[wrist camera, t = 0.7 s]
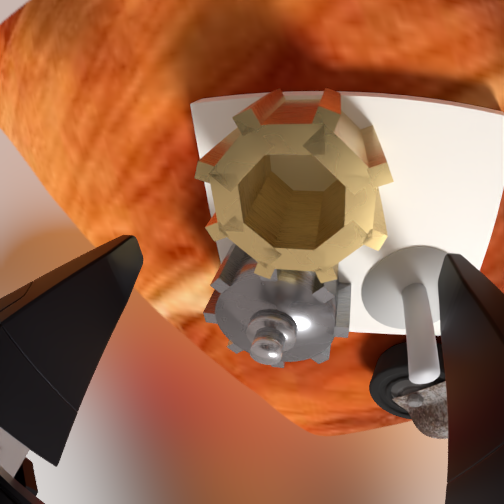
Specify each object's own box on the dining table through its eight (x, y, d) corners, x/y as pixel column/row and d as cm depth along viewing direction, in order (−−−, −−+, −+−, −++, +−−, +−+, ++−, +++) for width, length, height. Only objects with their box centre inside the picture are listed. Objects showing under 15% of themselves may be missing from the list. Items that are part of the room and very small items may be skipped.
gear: (356, 231, 16) (356, 306, 12) (345, 331, 21) (337, 401, 17) (212, 224, 18) (170, 288, 14) (233, 320, 23) (207, 382, 19)
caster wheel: (365, 342, 27) (456, 295, 20) (428, 402, 27) (510, 372, 20) (340, 402, 22) (449, 367, 15) (413, 458, 22) (507, 437, 15)
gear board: (501, 111, 11) (585, 166, 5) (448, 320, 20) (463, 410, 14) (201, 98, 15) (117, 140, 10) (238, 305, 24) (205, 389, 18)
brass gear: (378, 89, 12) (397, 109, 8) (373, 221, 16) (379, 287, 12) (229, 91, 14) (182, 114, 10) (247, 215, 17) (215, 274, 14)
